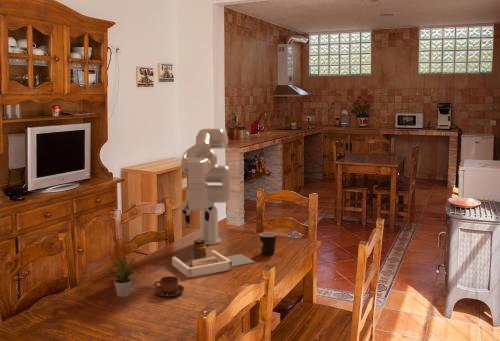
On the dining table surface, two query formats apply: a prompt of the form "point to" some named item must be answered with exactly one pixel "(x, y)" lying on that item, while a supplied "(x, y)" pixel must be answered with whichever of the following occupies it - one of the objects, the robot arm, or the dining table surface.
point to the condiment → (199, 250)
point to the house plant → (122, 277)
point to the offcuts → (204, 261)
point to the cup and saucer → (168, 287)
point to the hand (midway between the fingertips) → (197, 221)
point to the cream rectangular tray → (204, 266)
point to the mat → (239, 260)
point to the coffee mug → (268, 243)
